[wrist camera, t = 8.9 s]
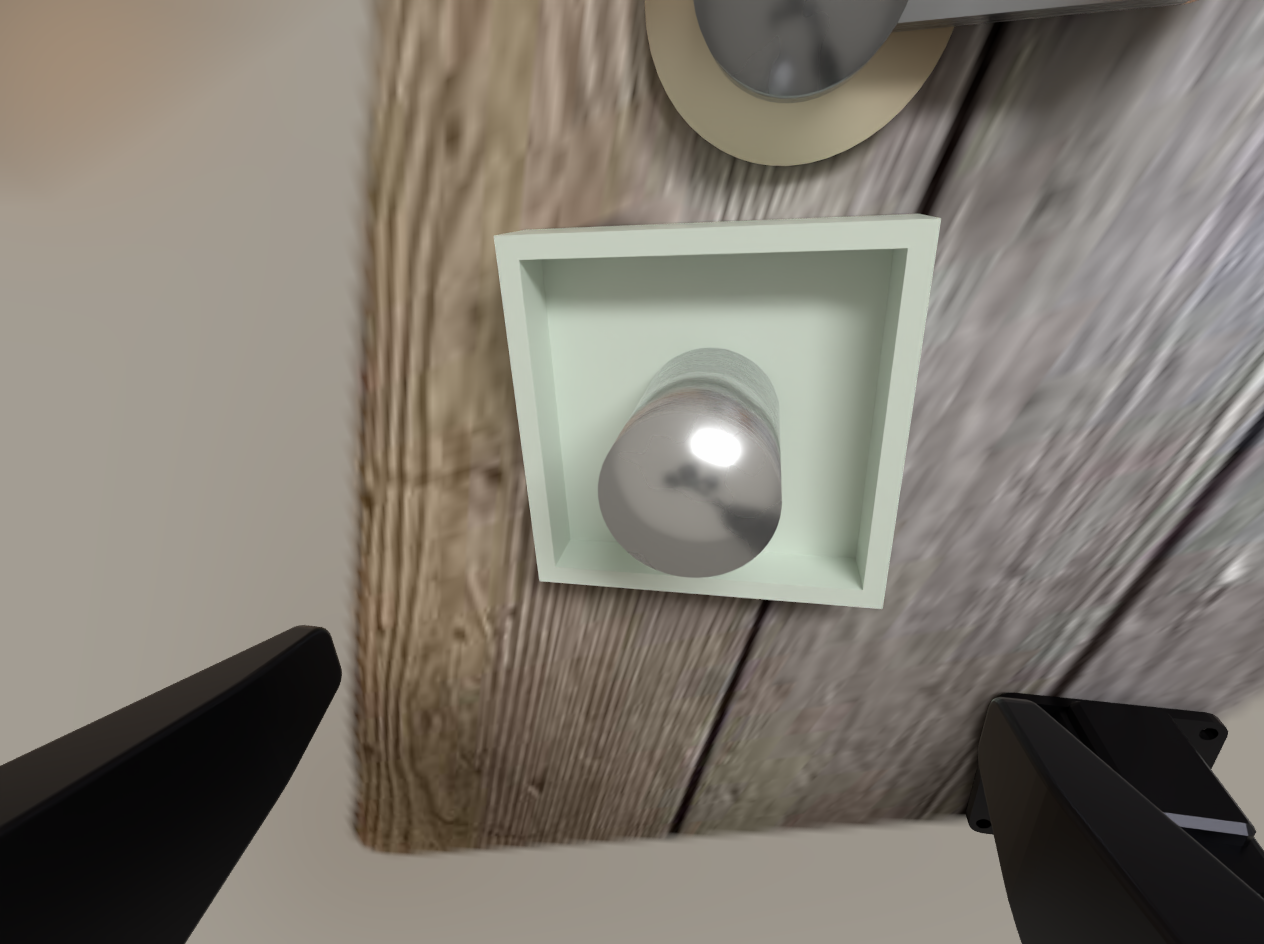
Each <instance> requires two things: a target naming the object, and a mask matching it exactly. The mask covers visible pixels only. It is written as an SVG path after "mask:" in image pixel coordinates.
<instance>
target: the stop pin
mask: <svg viewBox="0 0 1264 944" xmlns="http://www.w3.org/2000/svg"><path fill="white" fill-rule="evenodd" d="M598 500H599V506H600V510H601V513H602V516H603V519H604V521H605V523H606V526H607V527H608V529H609V531H610V532H611V534H612V536H613V537H614V538H615V539H616V541H617V542H618V543H619V544H620V545H621V546H622V547H623V548H624V549H625V550H626V551H627V552H628V553H629V554H630V555H632V556H633V557H634V558H635V559H637V560H638V561H640V562H642V563H643V564H645V565H647V566H649V567H651V568H653V569H655V570H658V571H660V572H663V573H666V574H670V575H674V576H680V577H687V578H704V577H712V576H717V575H722V574H725V573H728V572H731V571H734V570H736V569H738V568H740V567H742V566H744V565H745V564H747V563H748V562H750V561H751V560H753V559H754V558H755V557H756V556H757V555H758V554H760V553H761V551H762V550H763V549H764V548H765V547H766V546H767V545H768V543H769V541H770V540H771V538H772V537H773V535H774V533H775V531H776V529H777V526H778V523H779V520H780V516H781V509H782V487H781V451H780V415H779V403H778V398H777V394H776V391H775V389H774V387H773V385H772V383H771V381H770V379H769V378H768V376H767V375H766V374H765V373H764V372H763V370H762V369H761V368H760V367H759V366H758V365H756V364H755V363H754V362H753V361H751V360H750V359H748V358H747V357H745V356H743V355H741V354H739V353H736V352H733V351H730V350H726V349H721V348H700V349H695V350H691V351H688V352H685V353H682V354H680V355H678V356H676V357H674V358H673V359H671V360H670V361H668V362H667V363H666V364H665V365H664V366H663V367H662V368H661V369H660V370H659V371H658V372H657V373H656V375H655V376H654V378H653V379H652V381H651V382H650V384H649V386H648V387H647V389H646V391H645V392H644V394H643V396H642V397H641V399H640V401H639V402H638V404H637V406H636V407H635V409H634V411H633V412H632V414H631V416H630V417H629V419H628V421H627V422H626V424H625V426H624V427H623V429H622V431H621V432H620V434H619V436H618V437H617V439H616V441H615V442H614V444H613V446H612V447H611V449H610V451H609V452H608V454H607V456H606V458H605V460H604V462H603V465H602V468H601V471H600V475H599V481H598Z"/></svg>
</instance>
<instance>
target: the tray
mask: <svg viewBox="0 0 1264 944" xmlns="http://www.w3.org/2000/svg"><path fill="white" fill-rule="evenodd" d="M940 223H941V218H937V217H932V216H928V215H923V214H898V215H873V216H849V217H824V218H800V219H775V220H750V221H726V222H701V223H677V224H652V225H627V226H603V227H578V228H554V229H529V230H521V231H516V232H511V233H505V234H500V235H495V236H494V242H495V249H496V257H497V265H498V272H499V280H500V287H501V295H502V302H503V310H504V317H505V325H506V332H507V340H508V348H509V355H510V363H511V370H512V378H513V385H514V393H515V400H516V408H517V416H518V423H519V431H520V438H521V446H522V453H523V461H524V468H525V476H526V484H527V491H528V499H529V506H530V514H531V521H532V529H533V536H534V544H535V552H536V559H537V567H538V574H539V581H544V582H556V583H568V584H581V585H593V586H605V587H618V588H630V589H642V590H654V591H667V592H679V593H691V594H704V595H716V596H728V597H741V598H753V599H765V600H778V601H790V602H802V603H815V604H827V605H839V606H852V607H864V608H876V609H883V602H884V595H885V589H886V582H887V575H888V569H889V562H890V556H891V549H892V542H893V536H894V529H895V522H896V516H897V509H898V502H899V496H900V489H901V482H902V476H903V469H904V462H905V456H906V449H907V442H908V436H909V429H910V422H911V416H912V409H913V402H914V396H915V389H916V382H917V376H918V369H919V363H920V356H921V349H922V343H923V336H924V329H925V323H926V316H927V309H928V303H929V296H930V289H931V283H932V276H933V269H934V263H935V256H936V249H937V243H938V236H939V229H940ZM700 348H721V349H726V350H730V351H733V352H736V353H739V354H741V355H743V356H745V357H747V358H748V359H750V360H751V361H753V362H754V363H755V364H756V365H758V366H759V367H760V368H761V369H762V370H763V372H764V373H765V374H766V375H767V376H768V378H769V379H770V381H771V383H772V385H773V387H774V389H775V391H776V394H777V398H778V403H779V415H780V451H781V487H782V509H781V516H780V520H779V523H778V526H777V529H776V531H775V533H774V535H773V537H772V538H771V540H770V541H769V543H768V545H767V546H766V547H765V548H764V549H763V550H762V551H761V553H760V554H758V555H757V556H756V557H755V558H754V559H753V560H751V561H750V562H748V563H747V564H745V565H744V566H742V567H740V568H738V569H736V570H734V571H731V572H728V573H725V574H722V575H717V576H712V577H704V578H687V577H680V576H674V575H670V574H666V573H663V572H660V571H658V570H655V569H653V568H651V567H649V566H647V565H645V564H643V563H642V562H640V561H638V560H637V559H635V558H634V557H633V556H632V555H630V554H629V553H628V552H627V551H626V550H625V549H624V548H623V547H622V546H621V545H620V544H619V543H618V542H617V541H616V539H615V538H614V537H613V536H612V534H611V532H610V531H609V529H608V527H607V526H606V523H605V521H604V519H603V516H602V513H601V510H600V506H599V500H598V481H599V475H600V471H601V468H602V465H603V462H604V460H605V458H606V456H607V454H608V452H609V451H610V449H611V447H612V446H613V444H614V442H615V441H616V439H617V437H618V436H619V434H620V432H621V431H622V429H623V427H624V426H625V424H626V422H627V421H628V419H629V417H630V416H631V414H632V412H633V411H634V409H635V407H636V406H637V404H638V402H639V401H640V399H641V397H642V396H643V394H644V392H645V391H646V389H647V387H648V386H649V384H650V382H651V381H652V379H653V378H654V376H655V375H656V373H657V372H658V371H659V370H660V369H661V368H662V367H663V366H664V365H665V364H666V363H667V362H668V361H670V360H671V359H673V358H674V357H676V356H678V355H680V354H682V353H685V352H688V351H691V350H695V349H700Z"/></svg>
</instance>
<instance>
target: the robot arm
mask: <svg viewBox="0 0 1264 944" xmlns="http://www.w3.org/2000/svg"><path fill="white" fill-rule="evenodd" d="M341 677H342V670H341V666H340V663H339V659H338V656H337V653H336V650H335V647H334V644H333V641H332V637H331V635H330V633H329V632H328V631H327V630H326V629H325V628H322V627H316V626H305V625H301V626H296V627H294V628H291V629H289V630H287V631H285V632H283V633H281V634H279V635H276V636H274V637H272V638H270V639H268V640H266V641H264V642H262V643H259V644H258V645H255V646H253V647H251V648H249V649H247V650H245V651H243V652H240V653H238V654H236V655H234V656H232V657H230V658H228V659H226V660H223V661H221V662H219V663H217V664H215V665H213V666H211V667H209V668H207V669H204V670H202V671H200V672H198V673H196V674H194V675H192V676H190V677H188V678H185V679H183V680H181V681H179V682H177V683H175V684H173V685H170V686H168V687H166V688H164V689H162V690H160V691H158V692H156V693H154V694H151V695H149V696H147V697H145V698H143V699H141V700H139V701H137V702H134V703H132V704H130V705H128V706H126V707H124V708H122V709H120V710H118V711H115V712H113V713H111V714H109V715H107V716H105V717H103V718H101V719H98V720H96V721H94V722H92V723H90V724H88V725H86V726H84V727H82V728H80V729H77V730H75V731H73V732H71V733H69V734H67V735H65V736H63V737H60V738H58V739H56V740H54V741H52V742H50V743H48V744H46V745H44V746H41V747H39V748H37V749H35V750H33V751H31V752H29V753H27V754H24V755H22V756H20V757H18V758H16V759H14V760H12V761H10V762H7V763H5V764H3V765H1V766H0V944H185V943H186V941H187V940H188V938H189V937H190V935H191V934H192V932H193V931H194V929H195V927H196V926H197V924H198V923H199V921H200V919H201V918H202V917H203V915H204V913H205V912H206V910H207V909H208V907H209V906H210V904H211V903H212V901H213V899H214V898H215V896H216V895H217V893H218V892H219V890H220V889H221V887H222V885H223V884H224V882H225V881H226V879H227V878H228V876H229V875H230V873H231V871H232V870H233V868H234V867H235V865H236V864H237V862H238V861H239V859H240V858H241V856H242V854H243V853H244V851H245V849H246V848H247V847H248V845H249V844H250V842H251V840H252V839H253V837H254V836H255V834H256V833H257V831H258V830H259V828H260V826H261V825H262V823H263V822H264V820H265V819H266V817H267V816H268V814H269V812H270V811H271V809H272V808H273V806H274V805H275V803H276V801H277V800H278V798H279V797H280V795H281V793H282V792H283V790H284V789H285V787H286V785H287V784H288V782H289V780H290V778H291V776H292V775H293V773H294V771H295V769H296V767H297V765H298V764H299V761H300V760H301V758H302V756H303V754H304V752H305V750H306V748H307V747H308V744H309V742H310V741H311V739H312V737H313V735H314V733H315V731H316V729H317V728H318V726H319V724H320V722H321V720H322V718H323V716H324V714H325V712H326V710H327V708H328V707H329V705H330V703H331V701H332V699H333V697H334V695H335V693H336V691H337V690H338V687H339V685H340V682H341ZM1203 729H1204V730H1203ZM1227 735H1228V730H1227V729H1226V727H1225V726H1224V724H1223V723H1222V722H1221V721H1220V720H1219V719H1218V717H1216V716H1215V715H1213V714H1210V713H1206V712H1196V711H1186V710H1176V709H1167V708H1157V707H1147V706H1137V705H1128V704H1118V703H1108V702H1099V701H1089V700H1079V699H1069V698H1060V697H1050V696H1040V695H1031V694H1021V693H1006V694H1003V695H1001V696H1000V697H997V698H994V699H993V700H992V701H991V703H990V705H989V708H988V711H987V715H986V719H985V723H984V727H983V730H982V734H981V738H980V742H979V746H978V762H979V765H978V768H977V772H976V776H975V780H974V783H973V787H972V791H971V795H970V799H969V802H968V806H967V810H966V817H967V820H968V823H969V826H970V827H971V829H973V830H974V831H977V832H980V833H986V834H993V835H994V838H995V843H996V847H997V851H998V857H999V861H1000V866H1001V870H1002V875H1003V880H1004V884H1005V888H1006V892H1007V896H1008V901H1009V904H1010V907H1011V911H1012V914H1013V917H1014V921H1015V924H1016V927H1017V930H1018V933H1019V937H1020V940H1021V942H1022V944H1264V850H1263V849H1262V847H1261V846H1260V845H1259V843H1258V842H1257V841H1256V839H1255V838H1254V835H1255V833H1256V830H1255V828H1254V826H1253V825H1252V824H1251V822H1250V821H1249V819H1248V818H1247V817H1246V815H1245V814H1244V813H1243V811H1242V810H1241V809H1240V807H1239V806H1238V805H1237V803H1236V802H1235V801H1234V799H1233V798H1232V797H1231V795H1230V794H1229V793H1228V791H1227V790H1226V789H1225V788H1224V786H1223V785H1222V783H1221V782H1220V781H1219V779H1218V778H1217V777H1216V776H1215V774H1214V773H1213V772H1212V770H1211V769H1212V766H1213V764H1214V762H1215V760H1216V758H1217V756H1218V754H1219V752H1220V750H1221V748H1222V746H1223V744H1224V742H1225V740H1226V738H1227Z"/></svg>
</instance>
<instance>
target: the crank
mask: <svg viewBox="0 0 1264 944" xmlns="http://www.w3.org/2000/svg"><path fill="white" fill-rule="evenodd" d="M1194 1H1197V0H693V2H694V8H695V14H696V17H697V20H698V24H699V27H700V30H701V32H702V35H703V37H704V39H705V42H706V44H707V46H708V48H709V51H710V53H711V55H712V57H713V58H714V60H715V62H716V63H717V65H718V67H719V68H720V69H721V71H722V72H723V73H724V74H725V76H726V77H727V78H728V79H729V80H730V81H731V82H733V83H734V84H735V85H736V86H737V87H739V88H740V89H741V90H743V91H744V92H746V93H748V94H750V95H752V96H754V97H756V98H759V99H762V100H765V101H769V102H775V103H798V102H804V101H808V100H812V99H815V98H819V97H821V96H823V95H825V94H828V93H830V92H832V91H833V90H835V89H837V88H838V87H840V86H842V85H843V84H845V83H846V82H847V81H849V80H850V79H851V78H852V77H854V76H855V75H856V74H857V73H858V72H859V71H860V70H861V69H862V68H863V67H864V66H865V65H866V64H867V63H868V62H869V60H870V59H871V58H872V57H873V56H874V54H875V53H876V52H877V51H878V49H879V48H880V47H881V46H882V45H883V43H884V42H885V41H886V40H887V38H888V37H889V35H890V34H891V32H901V31H912V30H922V29H932V28H942V27H953V26H963V25H973V24H984V23H994V22H1004V21H1015V20H1025V19H1035V18H1046V17H1056V16H1066V15H1077V14H1087V13H1097V12H1108V11H1118V10H1128V9H1139V8H1149V7H1159V6H1170V5H1180V4H1187V3H1191V2H1194Z"/></svg>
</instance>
